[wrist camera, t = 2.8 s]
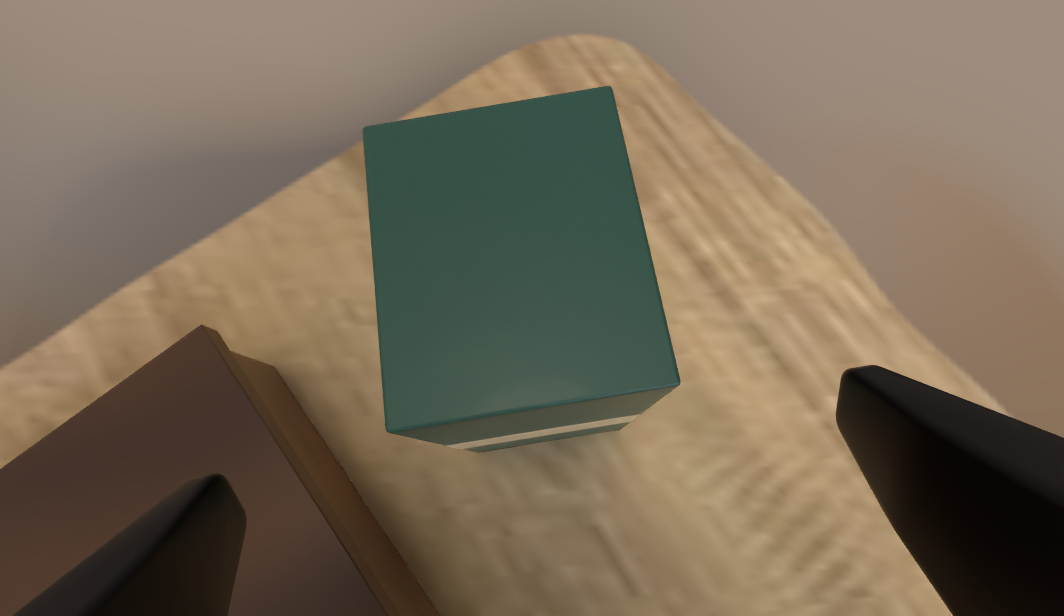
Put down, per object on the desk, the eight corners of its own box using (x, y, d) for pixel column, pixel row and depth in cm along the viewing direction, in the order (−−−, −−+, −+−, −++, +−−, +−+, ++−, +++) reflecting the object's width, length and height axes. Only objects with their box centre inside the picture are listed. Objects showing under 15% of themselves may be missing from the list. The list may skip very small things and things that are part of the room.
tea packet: (589, 264, 21) (612, 82, 11) (622, 429, 19) (684, 386, 9) (454, 286, 21) (359, 124, 11) (474, 453, 19) (383, 434, 9)
